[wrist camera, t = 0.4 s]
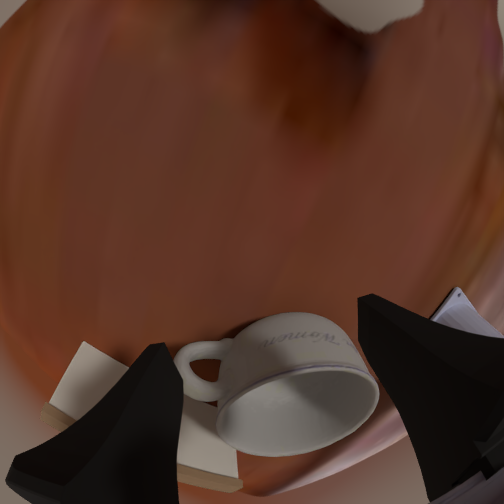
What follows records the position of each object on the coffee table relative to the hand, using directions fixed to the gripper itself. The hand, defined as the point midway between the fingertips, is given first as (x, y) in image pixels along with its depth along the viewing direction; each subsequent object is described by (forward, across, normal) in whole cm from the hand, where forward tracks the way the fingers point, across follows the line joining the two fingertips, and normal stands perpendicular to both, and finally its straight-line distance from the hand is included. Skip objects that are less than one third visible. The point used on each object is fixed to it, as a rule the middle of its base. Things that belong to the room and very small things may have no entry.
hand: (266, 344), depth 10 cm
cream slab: (+10, +11, +11) cm, 19 cm away
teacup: (+10, 0, +8) cm, 13 cm away
